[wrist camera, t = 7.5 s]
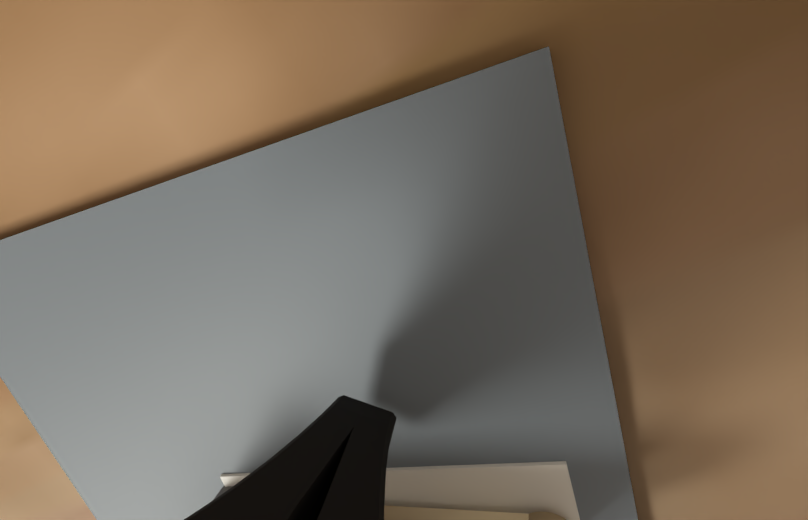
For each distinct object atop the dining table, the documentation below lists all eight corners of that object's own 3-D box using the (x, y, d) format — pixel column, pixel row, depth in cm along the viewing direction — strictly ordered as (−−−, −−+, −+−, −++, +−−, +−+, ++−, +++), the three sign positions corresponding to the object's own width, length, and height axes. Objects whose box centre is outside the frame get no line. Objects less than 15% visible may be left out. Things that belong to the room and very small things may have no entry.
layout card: (669, 691, 12) (675, 714, 12) (185, 631, 19) (177, 644, 18) (547, 48, 7) (549, 45, 7) (-59, 261, 14) (-79, 267, 13)
